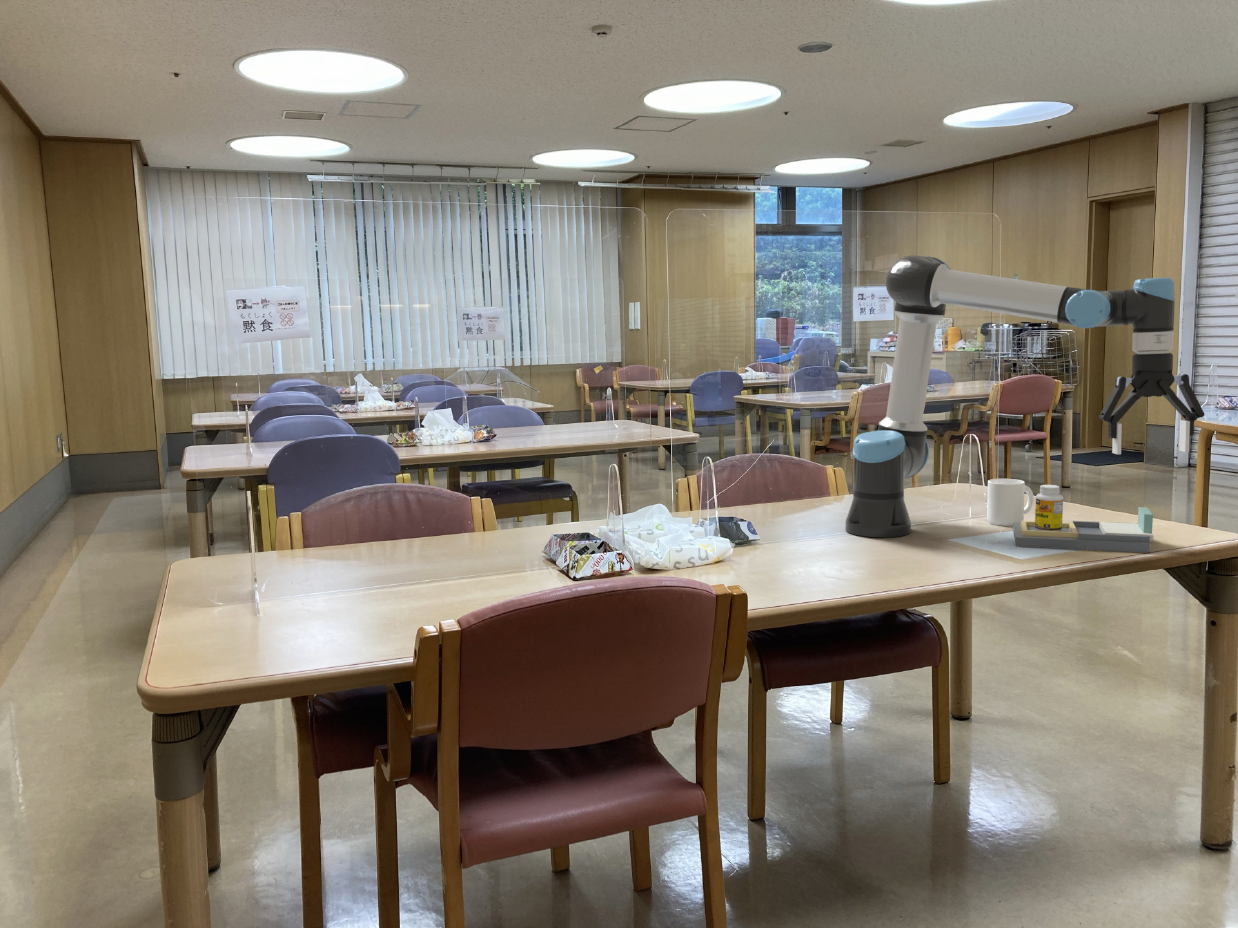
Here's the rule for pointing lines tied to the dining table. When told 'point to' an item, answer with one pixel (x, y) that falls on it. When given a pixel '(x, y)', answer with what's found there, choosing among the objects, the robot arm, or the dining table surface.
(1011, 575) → the dining table surface
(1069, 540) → the housing
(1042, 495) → the supplement bottle
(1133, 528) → the cover
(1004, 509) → the mug
